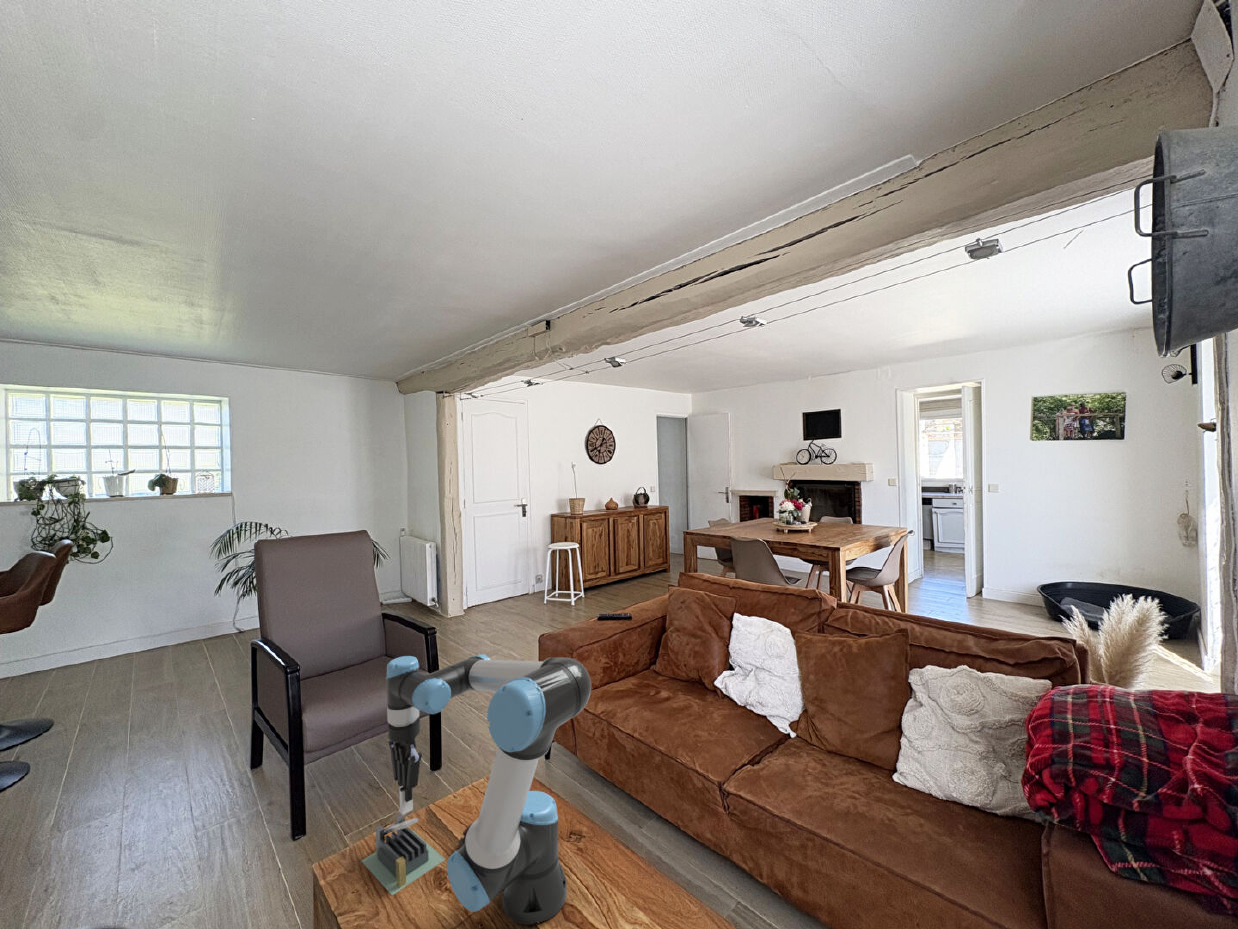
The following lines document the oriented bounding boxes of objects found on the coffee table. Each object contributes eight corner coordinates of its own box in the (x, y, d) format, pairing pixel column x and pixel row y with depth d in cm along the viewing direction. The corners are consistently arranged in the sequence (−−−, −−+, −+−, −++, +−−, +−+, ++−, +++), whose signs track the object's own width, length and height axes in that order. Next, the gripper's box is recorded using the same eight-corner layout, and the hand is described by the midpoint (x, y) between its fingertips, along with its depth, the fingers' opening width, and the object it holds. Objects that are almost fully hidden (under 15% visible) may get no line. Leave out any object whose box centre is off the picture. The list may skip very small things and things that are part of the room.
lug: (406, 883, 125) (405, 859, 125) (399, 888, 124) (398, 863, 124) (402, 880, 126) (402, 856, 126) (396, 884, 125) (395, 860, 125)
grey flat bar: (420, 821, 130) (418, 815, 131) (406, 829, 127) (404, 823, 128) (396, 828, 138) (395, 822, 139) (383, 835, 136) (382, 830, 136)
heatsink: (428, 861, 132) (427, 842, 132) (398, 881, 126) (397, 861, 126) (407, 841, 139) (407, 823, 139) (378, 859, 133) (377, 841, 133)
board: (445, 864, 133) (445, 859, 133) (392, 900, 122) (392, 895, 122) (412, 834, 144) (412, 830, 144) (361, 865, 133) (361, 860, 133)
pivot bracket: (405, 843, 139) (404, 817, 139) (380, 858, 134) (379, 831, 134) (401, 839, 140) (400, 813, 140) (376, 854, 135) (375, 827, 135)
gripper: (431, 722, 129) (433, 814, 130) (405, 706, 138) (408, 793, 138) (402, 734, 123) (404, 831, 124) (377, 717, 132) (380, 808, 132)
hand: (406, 811), depth 131 cm, fingers closed
